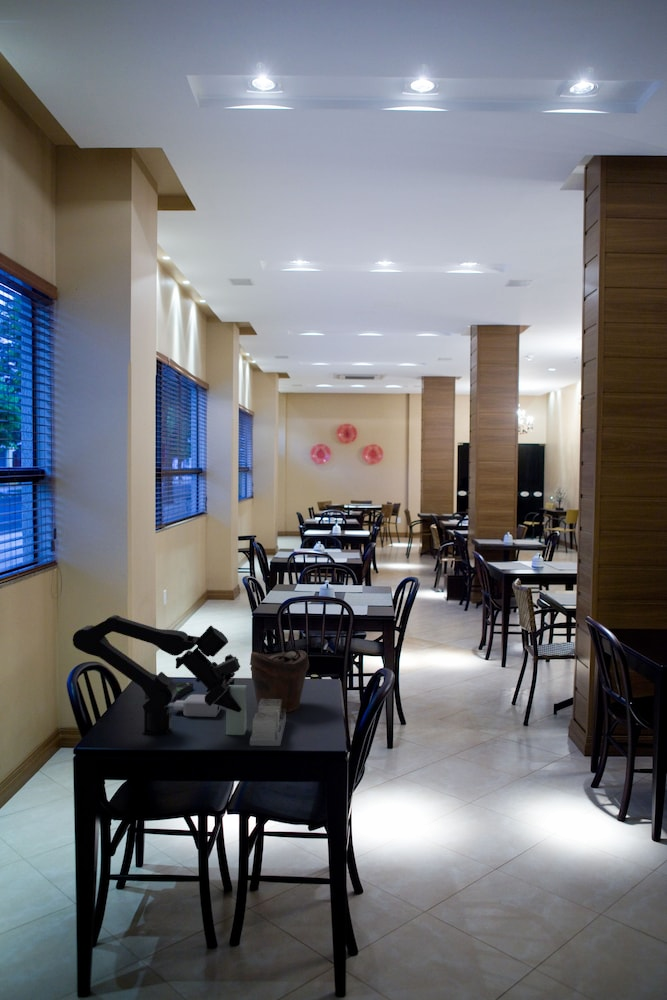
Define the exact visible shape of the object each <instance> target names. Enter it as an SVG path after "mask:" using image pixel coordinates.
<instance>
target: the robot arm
mask: <svg viewBox="0 0 667 1000" xmlns="http://www.w3.org/2000/svg"><path fill="white" fill-rule="evenodd" d="M113 632H114V633H116V634H120V635H122V636H125V637H129V638H132V639H136V640H139V641H142V642H146V643H148V644H152V645H154V646H155V647H157V648H158V649H159V650H161V651H163V652H165V653H167V654H169V655H170V656H175V657H176V656H177V657H176V658H175V669H176V670H178V669H179V668H180V667H181V666H182V665H183V666H184V667H185V668H186V669H187V670H188V671H190V673H192V675H193V676H194V677H195V678H196V679H195V681H196V682H197V683H199V682H200V683H201V684H202V685H203V687H204V688H206V691H205V692H206V694H204V695H205V702H206V703H207V704H208V705H209V706H211V705H212V704H214V705H215V704H216V705H219V706H221V708H225V709H226V708H228V709H231V710H234V711H236V712H240V711H241V708H240V706H239V705H238V703H237V702H236V701H235V699H234V698H233V696H232V695H231V693H230V686H229V685H235V682H236V681H235V675H236V672H238V671H239V670H240V668H241V665H240V663H239V658H238V657H236V656H233V655H232V654H228V655H226V656H225V658H224V661H222V662H221V663H219V664H218V663H217V662H215V661H213V662H211V660H209V657H212V658H213V657H215V656H216V655H217V654H218V653H219V652H220V651H221V650H222V649H223V648H224V647H225V646H226V645H227V644H228V643H229V640H228V638H227V637H226V635H225V634H224V633H223V631H220V630H218V629H217V628H215V627H214V626H213V625H209V626H208V628H207V629H206V630H205V631H204V632H203V633H202V634H201V635H200V636H195V635H189V634H188V633H187V632H185V631H183V630H177V629H176V630H175V629H160V628H156V627H153V626H150V625H147V624H144V623H140V622H137V621H134V620H131V619H127V618H125V617H122V616H120V615H116V614H113V615H112V616H109V617H108V618H106V620H103V621H102V622H100V623H98V624H95V625H93V624H91V625H85V626H84V627H82V628H80V629H78V630H77V631H75V632H74V634H73V635H72V645H73V647H74V648H75V649H76V650H78V651H80V652H82V653H84V654H87V655H90V656H94V657H97V658H99V659H101V660H102V661H104V662H105V663H106V664H107V665H109V666H111V667H112V668H114V669H116V671H117V672H119V673H120V674H121V675H123V676H125V677H126V678H127V679H129V680H130V681H132V682H133V683H134V684H136V685H138V687H140V688H141V689H142V691H143V693H144V695H145V694H146V696H147V697H148V698H149V699H148V698H147V700H146V702H145V703H143V705H142V708H143V712H144V714H143V716H144V717H143V718H144V720H143V731H142V734H143V735H167V734H168V732H169V731H170V730H171V728H172V713H171V712H170V706H168V705H170V704H169V703H172V702H173V701H172V699H173V698H174V697H175V695H176V693H177V688H176V685H175V683H174V682H175V681H174V678H171V677H169V676H167V675H166V674H165V672H163V671H159V673H158V674H155V673H152V672H150V671H148V670H147V669H145V668H144V667H143V666H141V665H140V664H139V663H137V662H136V661H134V660H133V659H132V658H131V657H129V656H127V655H126V654H125V653H123V652H122V651H121V650H119V649H118V648H117V647H115V646H114V645H112V644H111V643H110V642H109V640H108V638H107V637H106V635H108V634H110V633H113ZM196 646H197V647H196ZM194 647H195V649H193V648H194ZM192 649H193V650H192ZM185 651H186V652H185ZM184 652H185V653H184ZM183 653H184V654H183ZM181 654H182V656H180V655H181ZM230 679H232V680H230ZM228 686H229V687H228ZM227 687H228V688H227Z"/></svg>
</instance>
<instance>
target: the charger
mask: <svg viewBox="0 0 667 1000" xmlns="http://www.w3.org/2000/svg"><path fill="white" fill-rule="evenodd" d="M205 695H206V694H190V695H188V696H187V697H186V699H185V700H183V699H181V700H179V699H176V700H175V702H170V703H169V704H168V705H167V707H173V708H172V709H173V710H174V711H183V712H182V713H183V715H184V716H185V717H192V718H193V717H198V718H201V717H202V718H216V717H217V715H218V714H219V713H220V711H221V709H222V706H219V705H216V704H215V705H214V704H212V705H211V706H209V705H208V704H207V703H206V702H205Z"/></svg>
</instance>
